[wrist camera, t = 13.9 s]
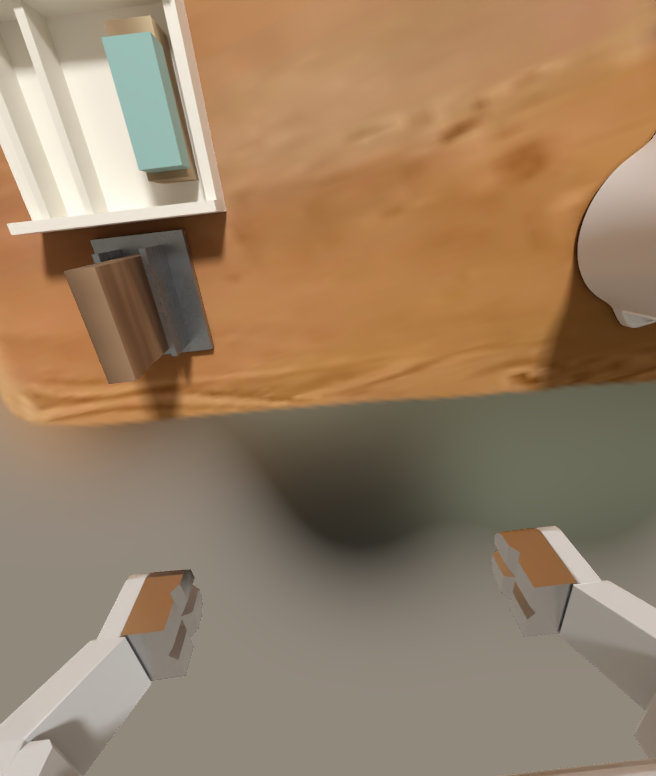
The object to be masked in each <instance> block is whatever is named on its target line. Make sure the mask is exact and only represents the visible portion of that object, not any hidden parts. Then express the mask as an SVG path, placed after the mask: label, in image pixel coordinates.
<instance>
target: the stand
mask: <svg viewBox="0 0 656 776" xmlns="http://www.w3.org/2000/svg"><path fill="white" fill-rule="evenodd" d="M90 242H91V245H92V247H93V250H94V253H95V254H91V255H92V257H93V260H94V263H95V264H96V263H100V262H105V261H109V260H113V259H117V258H122V257H126V256H130V255H137V254H140V255H141V259H142V262H143V265H144V268H145V272H146V275H147V278H148V281H149V284H150V288H151V291H152V294H153V297H154V301H155V304H156V307H157V310H158V313H159V317H160V320H161V323H162V326H163V330H164V333H165V336H166V339H167V342H168V346H169V349H168V350H167V351H166V352H165V353H164V354H163V355H165V354H171V355H172V357H173V356H178V355H179V354H180V353H182V352H191V351H200V350H208V349H213V347H214V344H213V340H212V336H211V332H210V328H209V324H208V320H207V317H206V313H205V309H204V305H203V301H202V297H201V293H200V289H199V285H198V281H197V277H196V273H195V269H194V265H193V261H192V257H191V253H190V249H189V246H188V242H187V238H186V234H185V230H184V229H182V230H173V231H165V232H156V233H148V234H139V235H130V236H122V237H113V238H105V239H96V240H90Z"/></svg>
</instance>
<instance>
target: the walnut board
mask: <svg viewBox="0 0 656 776" xmlns="http://www.w3.org/2000/svg"><path fill="white" fill-rule="evenodd" d="M64 274H65V276H66V279H67V281H68V284H69V286H70V289H71V291H72V293H73V296H74V298H75V301H76V303H77V306H78V308H79V311H80V313H81V316H82V318H83V321H84V323H85V326H86V328H87V331H88V333H89V336H90V338H91V340H92V343H93V345H94V348H95V350H96V353H97V355H98V358H99V360H100V363H101V365H102V368H103V370H104V373H105V375H106V378H107V380H108V383H109V384H112V383H121V382H129V381H136V380H137V379H138V378H139V377H140V376H141V375H143V374H144V373H145V372H146V371H147V370H148V369H149V368H150V367H151V366H152V365H153V364H154V363H155V362H156V361H157V360H158V359H159V358H160V357H161V356H162V355H163V354H164V353H165V352H166V351H167V350H168V349H169V346H168V342H167V339H166V336H165V333H164V330H163V326H162V323H161V320H160V317H159V313H158V310H157V307H156V304H155V301H154V297H153V294H152V291H151V288H150V284H149V281H148V278H147V275H146V272H145V268H144V265H143V262H142V259H141V255H140V254H137V255H130V256H126V257H122V258H117V259H113V260H109V261H105V262H100V263H96V264H92V265H87V266H83V267H79V268H74V269H70V270H66V271H64Z"/></svg>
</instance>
